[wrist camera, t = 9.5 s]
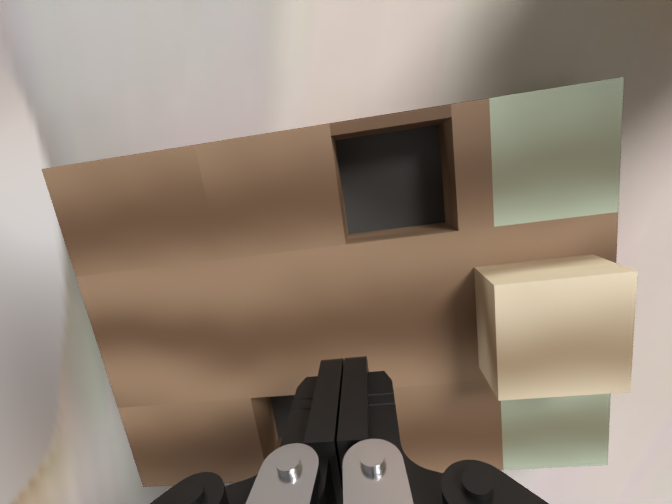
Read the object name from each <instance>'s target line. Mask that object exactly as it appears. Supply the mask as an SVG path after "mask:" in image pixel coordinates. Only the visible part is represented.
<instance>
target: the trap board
mask: <svg viewBox="0 0 672 504" xmlns="http://www.w3.org/2000/svg"><path fill="white" fill-rule="evenodd" d="M623 87H624V77H619V78H612V79H606V80H600V81H593V82H587V83H581V84H574V85H568V86H562V87H556V88H549V89H543V90H537V91H530V92H524V93H518V94H512V95H505V96H499V97H493V98H486V99H480V100H474V101H467V102H461V103H455V104H449V105H442V106H436V107H430V108H423V109H417V110H411V111H404V112H398V113H392V114H386V115H379V116H373V117H367V118H360V119H354V120H348V121H342V122H335V123H329V124H323V125H316V126H310V127H304V128H297V129H291V130H285V131H279V132H272V133H266V134H260V135H253V136H247V137H241V138H234V139H228V140H222V141H216V142H209V143H203V144H197V145H190V146H184V147H178V148H171V149H165V150H159V151H153V152H146V153H140V154H134V155H127V156H121V157H115V158H109V159H102V160H96V161H90V162H83V163H77V164H71V165H64V166H58V167H52V168H46V169H42V172H43V175H44V178H45V181H46V184H47V188H48V191H49V194H50V197H51V200H52V203H53V206H54V209H55V213H56V216H57V219H58V222H59V225H60V228H61V231H62V234H63V238H64V241H65V244H66V247H67V250H68V253H69V256H70V259H71V263H72V266H73V269H74V272H75V275H76V278H77V281H78V284H79V288H80V291H81V294H82V297H83V300H84V303H85V306H86V309H87V313H88V316H89V319H90V322H91V325H92V328H93V331H94V334H95V338H96V341H97V344H98V347H99V350H100V353H101V356H102V360H103V363H104V366H105V369H106V372H107V375H108V378H109V381H110V385H111V388H112V391H113V394H114V397H115V400H116V403H117V406H118V410H119V413H120V416H121V419H122V422H123V425H124V428H125V431H126V435H127V438H128V441H129V444H130V447H131V450H132V453H133V456H134V460H135V463H136V466H137V469H138V472H139V475H140V478H141V481H142V485H143V487H147V486H169V485H176V484H177V483H179V482H180V481H182V480H183V479H185V478H187V477H189V476H191V475H193V474H196V473H200V472H213V473H215V474H218V475H219V476H220V477H221V478H222V480H223V483H233V482H240V481H243V480H246V479H248V478H251V477H253V476H255V475H257V474H258V473H259V470H260V468H261V465H262V464H263V462H264V460H265V459H266V458H267V457H268V455H269V454H271V453H272V452H273V451H274V450H276V449H278V448H280V444H281V441H282V437H283V434H284V430H285V427H286V423H287V420H288V417H289V413H290V412H291V406H292V403H293V402H294V396H295V393H296V389H297V387H298V386H299V385H300V383H301V382H302V381H303V380H304V379H305V378H306V377H313V376H318V372H319V367H320V362H321V360H328V359H340V358H343V359H345V358H351V357H363V356H367V361H368V369H369V372H375V371H385V372H386V374H387V375H388V376H389V377H390V378H391V379H392V383H393V390H394V398H395V405H396V412H397V420H398V427H399V435H400V442H401V446H402V449H403V451H404V453H405V454H406V456H407V457H408V458H409V459H410V460H411V461H413V462H414V463H415V464H417V465H419V466H421V467H423V468H426V469H429V470H432V471H437V472H441V473H444V472H445V470H446V469H447V468H448V467H449V466H450V465H451V464H453V463H455V462H457V461H461V460H478V461H482V462H485V463H488V464H490V465H492V466H494V467H496V468H497V469H499V470H513V469H535V468H556V467H578V466H599V465H608V443H609V419H610V396H611V393H610V394H594V395H579V396H564V397H548V398H533V399H517V400H502V401H498V399H497V397H496V396H495V394H494V392H493V390H492V389H491V387H490V385H489V383H488V382H487V380H486V378H485V376H484V375H483V373H482V371H481V370H480V368H479V357H478V337H477V317H476V296H475V276H474V267H480V266H490V265H499V264H509V263H518V262H528V261H537V260H547V259H556V258H565V257H575V256H584V255H596V256H599V257H601V258H604V259H607V260H609V261H612V262H614V263H616V253H617V229H618V206H619V182H620V158H621V135H622V111H623Z"/></svg>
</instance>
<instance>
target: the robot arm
mask: <svg viewBox="0 0 672 504" xmlns="http://www.w3.org/2000/svg"><path fill="white" fill-rule="evenodd" d="M150 504H548V503H547V502H545V501H544V500H543V499H541V498H540V497H538V496H537V495H535V494H534V493H532V492H531V491H529V490H528V489H527V488H525V487H524V486H522V485H521V484H519V483H518V482H516V481H515V480H513V479H512V478H510V477H509V476H508V475H506V474H505V473H503V472H502V471H500V470H499V469H497V468H496V467H494V466H492V465H490V464H488V463H485V462H482V461H478V460H461V461H457V462H455V463H453V464H451V465H450V466H449V467H448V468H447V469H446V470H445V472H444V473H441V472H437V471H432V470H429V469H426V468H423V467H421V466H419V465H417V464H415V463H414V462H413V461H411V460H410V459H409V458H408V457H407V456H406V454H405V453H404V451H403V449H402V446H401V442H400V435H399V427H398V420H397V412H396V405H395V398H394V390H393V383H392V379H391V378H390V377H389V376H388V375H387V374H386V372H385V371H375V372H369V369H368V361H367V356H363V357H351V358H345V359H343V358H340V359H328V360H321V362H320V367H319V372H318V376H313V377H306V378H305V379H304V380H303V381H302V382H301V383H300V385H299V386H298V387H297V389H296V393H295V396H294V402H293V403H292V406H291V412H290V413H289V417H288V420H287V423H286V427H285V430H284V434H283V437H282V441H281V444H280V448H278V449H276V450H274V451H273V452H272V453H271V454H269V455H268V457H267V458H266V459H265V460H264V462H263V464H262V465H261V468H260V470H259V473H258V474H257V475H255V476H253V477H251V478H248V479H246V480H243V481H240V482H237V483H234V484H231V485H228V486H224V483H223V480H222V478H221V477H220V476H219V475H218V474H215V473H213V472H200V473H196V474H193V475H191V476H189V477H187V478H185V479H183V480H182V481H180V482H179V483H177V484H176V485H174V486H173V487H172V488H170V489H169V490H168V491H166V492H165V493H164V494H162V495H161V496H160V497H158V498H157V499H156V500H154V501H153V502H152V503H150Z"/></svg>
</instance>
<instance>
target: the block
mask: <svg viewBox="0 0 672 504" xmlns="http://www.w3.org/2000/svg"><path fill="white" fill-rule="evenodd" d="M474 276H475V296H476V317H477V337H478V357H479V368H480V370H481V371H482V373H483V375H484V376H485V378H486V380H487V382H488V383H489V385H490V387H491V389H492V390H493V392H494V394H495V396H496V397H497V399H498V401H502V400H517V399H533V398H548V397H564V396H579V395H594V394H610V393H625V392H630V388H631V371H632V355H633V338H634V321H635V304H636V288H637V271H636V270H633V269H630V268H628V267H625V266H622V265H620V264H617V263H614V262H612V261H609V260H607V259H604V258H601V257H599V256H596V255H584V256H575V257H565V258H556V259H547V260H537V261H528V262H518V263H509V264H499V265H490V266H480V267H474Z"/></svg>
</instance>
